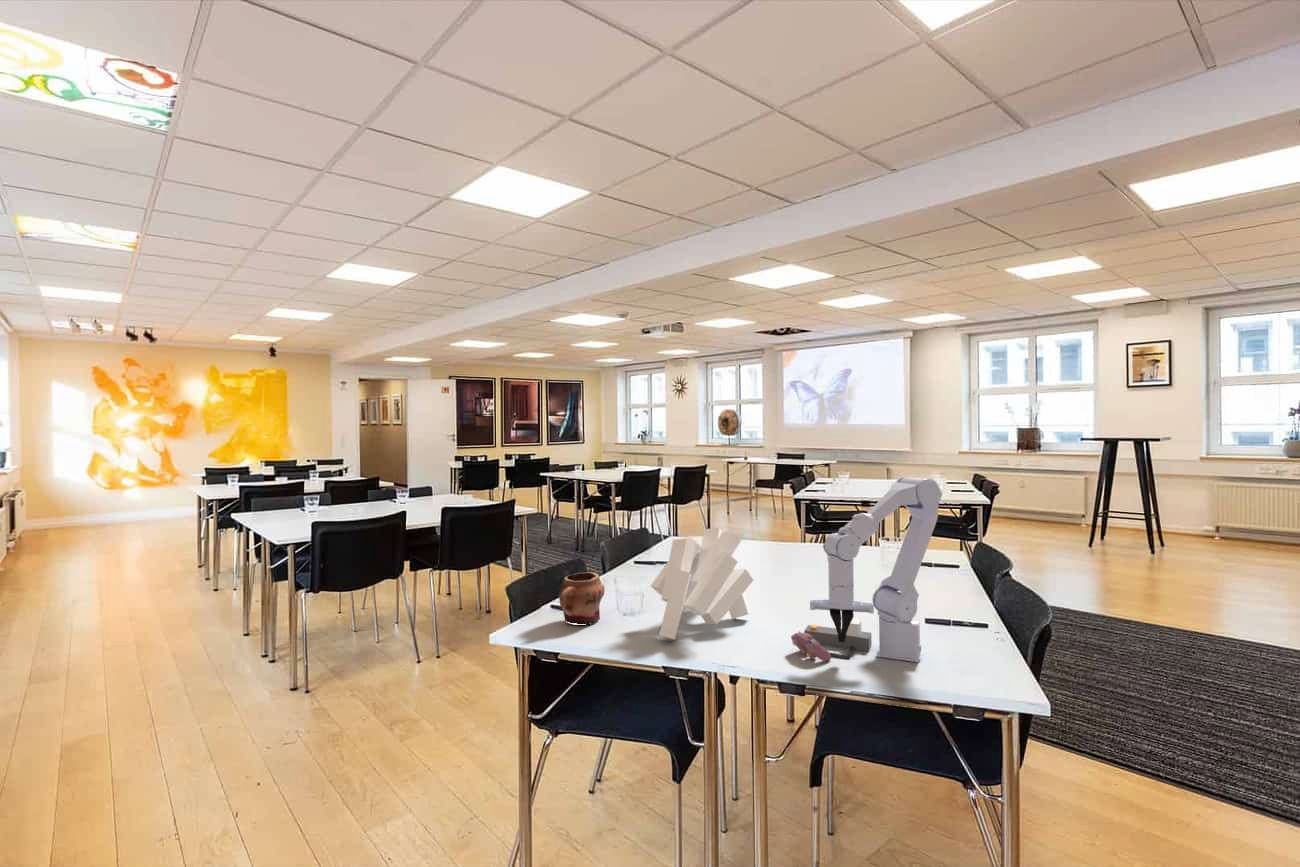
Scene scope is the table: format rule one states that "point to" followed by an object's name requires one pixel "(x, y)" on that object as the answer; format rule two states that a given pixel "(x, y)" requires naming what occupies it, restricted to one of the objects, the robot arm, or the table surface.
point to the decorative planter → (581, 597)
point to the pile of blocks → (702, 581)
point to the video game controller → (810, 646)
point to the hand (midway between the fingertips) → (841, 641)
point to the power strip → (852, 640)
